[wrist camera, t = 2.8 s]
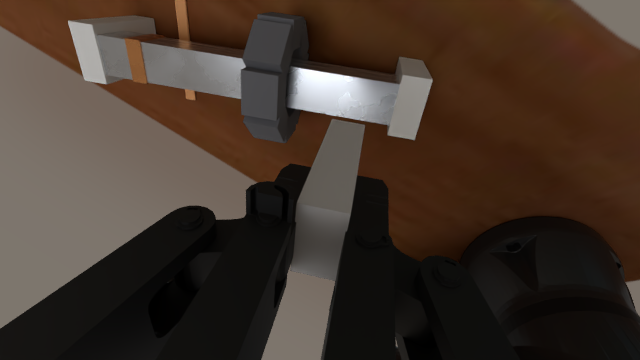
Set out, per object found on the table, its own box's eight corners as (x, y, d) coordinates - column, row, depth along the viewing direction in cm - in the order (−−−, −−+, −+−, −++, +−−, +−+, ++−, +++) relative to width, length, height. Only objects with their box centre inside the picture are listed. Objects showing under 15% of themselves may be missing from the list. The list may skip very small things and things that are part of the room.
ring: (312, 14, 25) (280, 23, 18) (303, 118, 30) (274, 159, 23) (283, 10, 26) (239, 17, 18) (278, 113, 30) (242, 153, 23)
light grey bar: (411, 75, 24) (415, 85, 21) (401, 115, 25) (403, 129, 23) (114, 27, 26) (83, 31, 23) (123, 66, 28) (94, 74, 25)
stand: (432, 24, 25) (447, 33, 19) (401, 136, 30) (404, 172, 24) (127, -20, 28) (55, -24, 22) (147, 91, 33) (93, 112, 27)
